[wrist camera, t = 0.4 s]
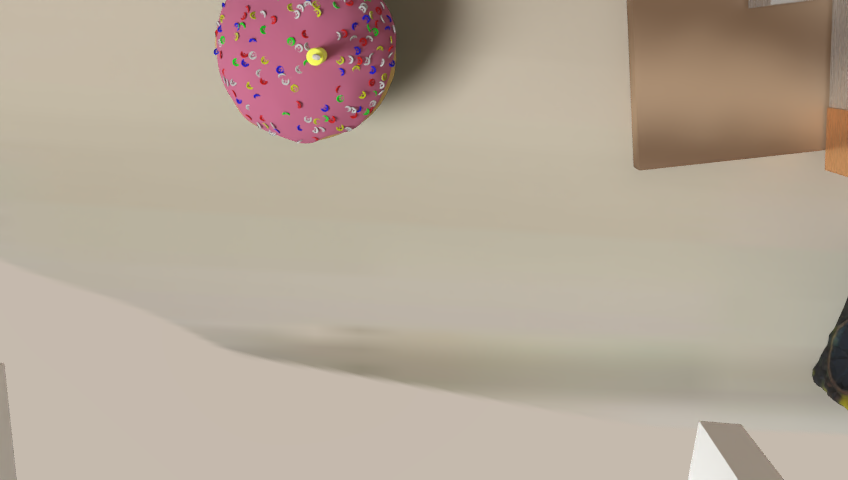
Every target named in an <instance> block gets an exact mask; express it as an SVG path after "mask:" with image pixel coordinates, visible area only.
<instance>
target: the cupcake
mask: <svg viewBox="0 0 848 480" xmlns="http://www.w3.org/2000/svg"><path fill="white" fill-rule="evenodd" d="M222 7H223V8H222V11H221V14H220V18H219V22H218V21H217V26H218V27H217V30H216V31H215V35H216V42H215V44H216V49H215V50H214V54H215V55H217V59H218V66H219V71H220V75H221V78H222V81H223V83H224V85H225V88H226V89H227V91H228V93H229V95H230V96H231V98H232V99H233V101H234V103H235V105H236V107H237V108H238V110H239V111H240V113H241V114H242V115H243V116H244V117H245V118H246V119H247V120H248V121H249V122H251V123H252V124H254V125H256V126H258V127H259V128H260V129H261V128H262V129H264V130H266V131H268V132H269V134H270V135H272V136H275V135H279V136H281V137H284V138H287V139H289V140H292V141H295V142H296V143H313V142H316V141H318V140H322V139H326V138H330V137H333V136H336V135H339V134H341V133H343V132H347V131H351V130H352V129H354V128H356V127H357V126H358V125H360V124H361V123H362V122H363V121H364V120H366V119H367V118H368V117H369V116H370V115H371V114H372V113H373V112H374V111H375V110H376V109H377V108H378V107H379V105H380V104H381V102H382V101H383V99H384V97H385V95H386V93H387V91H388V89H389V87H390V84H391V82H392V80H393V77H394V73H395V64H396V49H395V47H396V29H395V25H394V22H393V19H392V16H391V14H390V11H389V9H388V8H387V6H386V4H385V3H384V2H383V1H382V0H226V2H225V4H224V3H222ZM272 133H273V134H272Z"/></svg>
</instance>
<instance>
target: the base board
mask: <svg viewBox="0 0 848 480" xmlns="http://www.w3.org/2000/svg"><path fill="white" fill-rule="evenodd" d="M832 6H833V0H810V1H802V2H795V3H787V4H779V5H771V6H763V7H755V8H748V0H627V15H628V39H629V64H630V88H631V112H632V136H633V161H634V167H635V168H636V169H638V170H648V169H657V168H666V167H675V166H684V165H693V164H702V163H711V162H720V161H729V160H739V159H748V158H757V157H766V156H775V155H784V154H793V153H802V152H811V151H820V150H826V124H827V108H828V107H829V95H830V65H831V36H832Z"/></svg>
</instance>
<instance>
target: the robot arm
mask: <svg viewBox="0 0 848 480" xmlns="http://www.w3.org/2000/svg"><path fill="white" fill-rule="evenodd" d="M0 480H17V479H16V469H15V460H14V450H13V441H12V432H11V422H10V413H9V403H8V394H7V385H6V375H5V366H4V363H0ZM688 480H784V479H783V478H782V477H781V475H780V474H779V473H778V472H777V470H776V469H775V468H774V466H773V465H772V464H771V463H770V461H769V460H768V459H767V458H766V456H765V455H764V453H763V452H762V451H761V450H760V448H759V447H758V446H757V445H756V443H755V442H754V440H753V439H752V438H751V437H750V435H749V434H748V433H747V431H746V430H745V429H744V428H743V426H742V425H741V424H729V423H717V422H705V421H699V424H698V430H697V435H696V440H695V445H694V451H693V456H692V461H691V467H690V473H689V477H688Z"/></svg>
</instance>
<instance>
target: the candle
mask: <svg viewBox="0 0 848 480" xmlns="http://www.w3.org/2000/svg"><path fill="white" fill-rule="evenodd" d="M812 376H813V380H814V382H815V383H816V384H817V385H818V386H819V387H822V389H823V390H824V391H826V392H827V394H828V396H830V397H831V398H832V399H833V400H834V401H836V402H837V403H838V404H840V405H842V406H844V407H845V408H846V409H847V410H848V298H847V301H846V303H845V306H844V308H843V311H842V313H841V315H840V317H839V320H838V322H837V324H836V326H835V329H834V330H833V331H832V333H831V334H830V335H829V341H828V346H827V347H826V348H825V350H824V352H823V353H822V355H821V357H820V360H819V362H818V363H817V365H816V366H815V367H814V369H813V374H812Z"/></svg>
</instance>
